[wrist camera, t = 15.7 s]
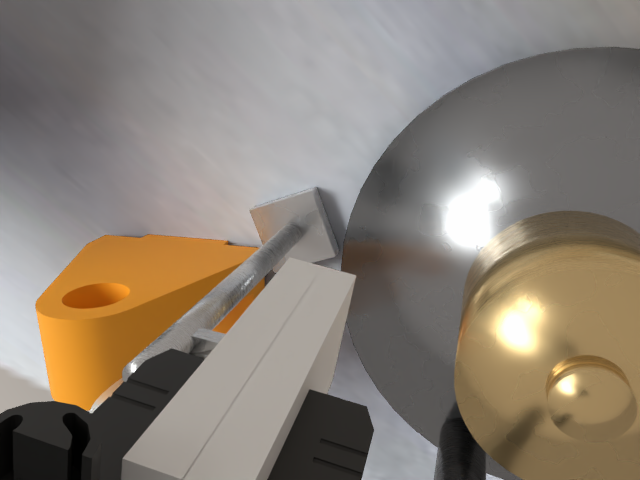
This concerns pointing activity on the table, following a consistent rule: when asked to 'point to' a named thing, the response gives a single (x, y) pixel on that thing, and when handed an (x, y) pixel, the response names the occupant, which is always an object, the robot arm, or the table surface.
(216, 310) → the stand
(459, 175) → the turntable
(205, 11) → the table surface
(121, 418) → the robot arm
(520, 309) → the cover
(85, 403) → the bracket
